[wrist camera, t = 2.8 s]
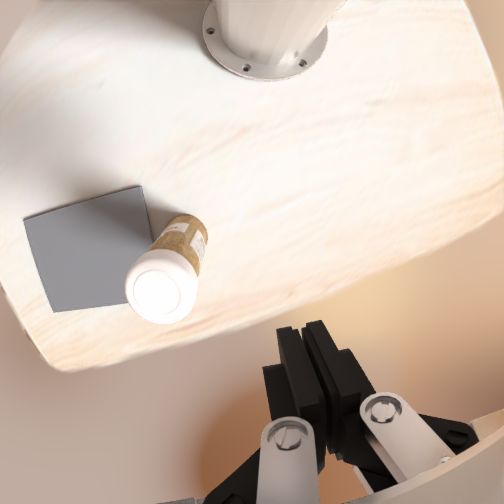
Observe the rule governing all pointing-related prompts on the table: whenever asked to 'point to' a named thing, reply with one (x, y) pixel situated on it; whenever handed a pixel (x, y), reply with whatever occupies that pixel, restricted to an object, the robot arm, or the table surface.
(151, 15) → the table surface
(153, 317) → the sprinkles bottle
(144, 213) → the mat
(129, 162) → the table surface
